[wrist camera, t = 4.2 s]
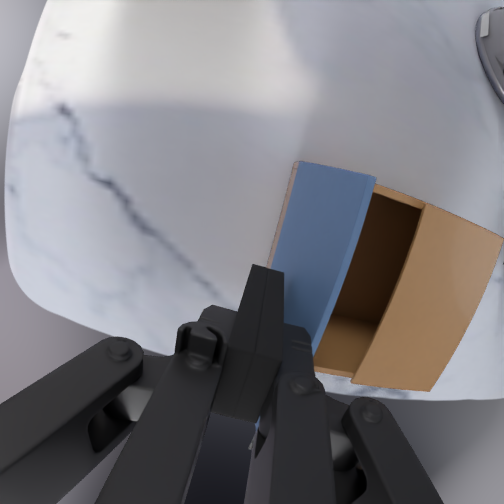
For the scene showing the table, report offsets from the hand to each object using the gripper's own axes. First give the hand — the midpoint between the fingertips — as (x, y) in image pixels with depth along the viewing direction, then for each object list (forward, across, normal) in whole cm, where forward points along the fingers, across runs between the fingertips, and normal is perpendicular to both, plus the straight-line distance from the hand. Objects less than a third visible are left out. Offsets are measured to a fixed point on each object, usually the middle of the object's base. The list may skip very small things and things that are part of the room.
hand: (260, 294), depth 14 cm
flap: (0, +1, 0) cm, 1 cm away
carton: (+13, +8, 0) cm, 15 cm away
